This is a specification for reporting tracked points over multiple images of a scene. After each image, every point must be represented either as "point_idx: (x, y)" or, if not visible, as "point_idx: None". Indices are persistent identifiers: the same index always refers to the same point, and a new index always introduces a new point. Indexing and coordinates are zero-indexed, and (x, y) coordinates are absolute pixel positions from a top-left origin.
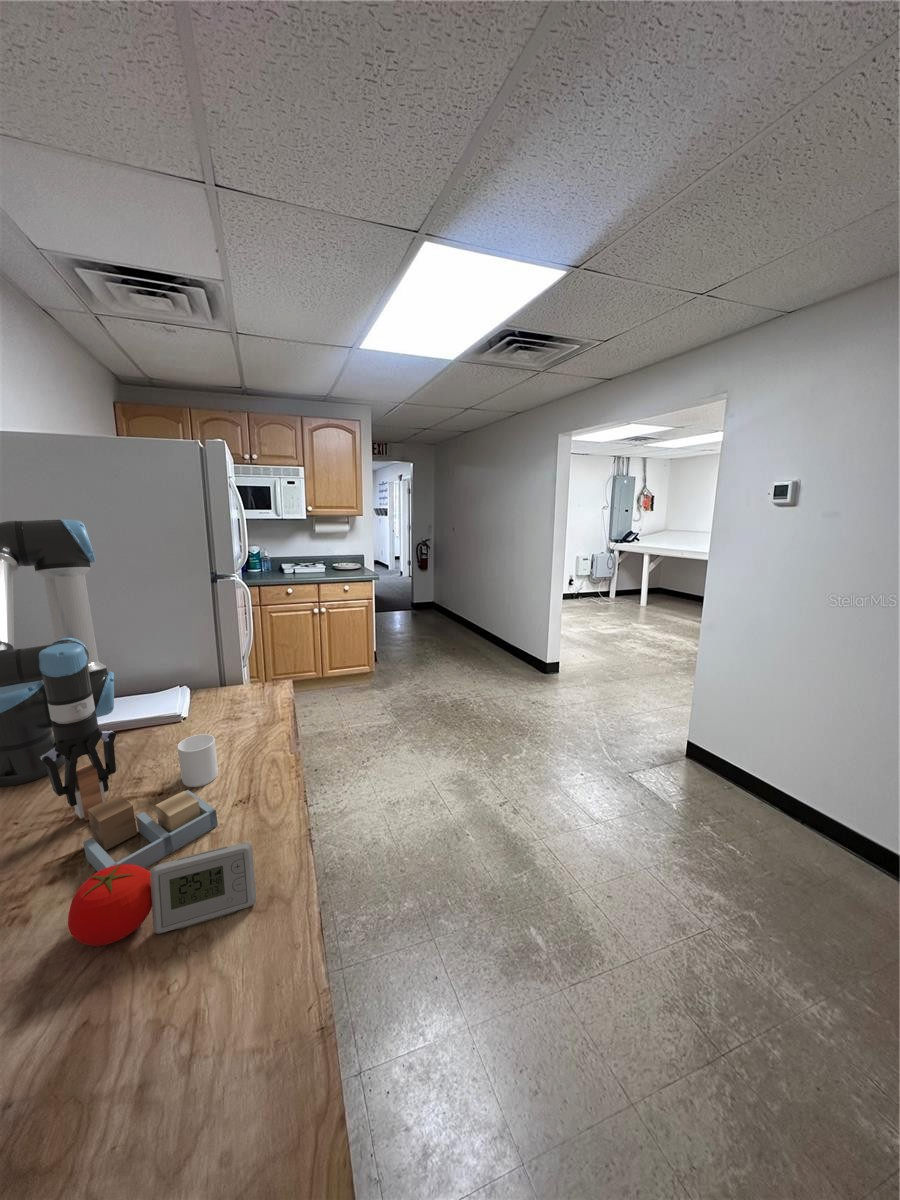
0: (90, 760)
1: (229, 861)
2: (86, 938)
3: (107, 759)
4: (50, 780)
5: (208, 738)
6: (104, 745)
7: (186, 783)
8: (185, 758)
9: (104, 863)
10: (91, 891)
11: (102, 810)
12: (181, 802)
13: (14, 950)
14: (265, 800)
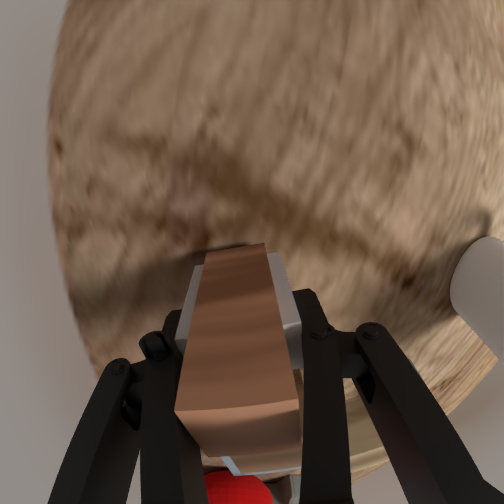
0: (302, 449)
1: None
2: None
3: (382, 424)
4: (82, 417)
5: None
6: (428, 486)
7: (453, 299)
8: (498, 353)
9: (231, 469)
10: None
11: (255, 458)
12: (376, 458)
13: (139, 451)
14: (451, 393)
